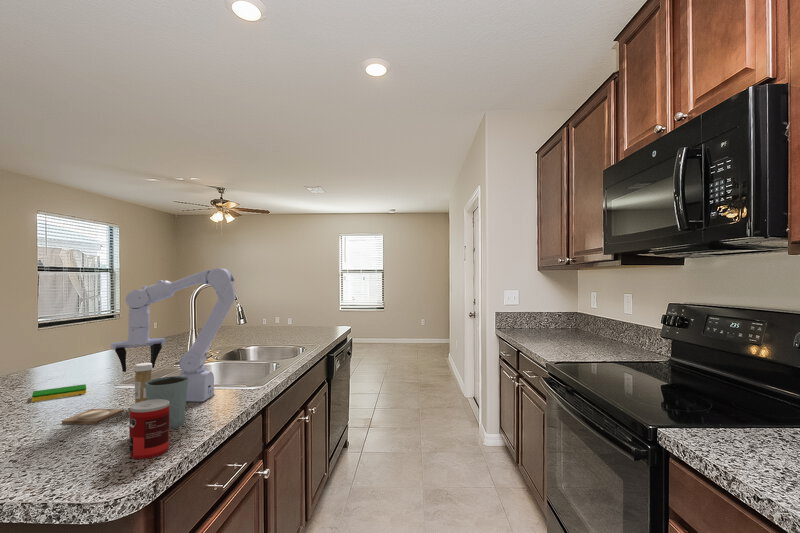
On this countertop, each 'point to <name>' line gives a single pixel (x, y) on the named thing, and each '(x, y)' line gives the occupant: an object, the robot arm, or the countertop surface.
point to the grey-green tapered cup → (170, 396)
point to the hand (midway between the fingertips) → (138, 369)
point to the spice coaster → (93, 416)
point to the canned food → (149, 428)
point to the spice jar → (142, 380)
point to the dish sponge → (58, 392)
